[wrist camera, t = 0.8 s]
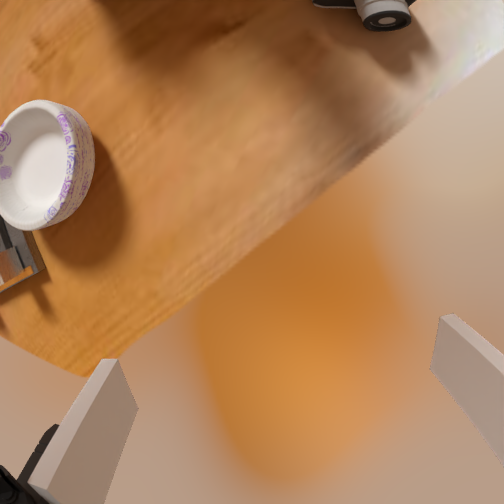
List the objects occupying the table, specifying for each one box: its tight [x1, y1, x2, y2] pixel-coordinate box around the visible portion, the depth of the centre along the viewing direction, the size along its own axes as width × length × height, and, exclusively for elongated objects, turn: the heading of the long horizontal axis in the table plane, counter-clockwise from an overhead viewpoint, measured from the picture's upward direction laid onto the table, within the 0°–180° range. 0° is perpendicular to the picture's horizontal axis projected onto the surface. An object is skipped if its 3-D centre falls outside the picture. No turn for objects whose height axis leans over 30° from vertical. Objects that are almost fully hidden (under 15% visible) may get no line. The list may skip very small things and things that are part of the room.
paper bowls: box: [0, 100, 95, 231], centre depth 29 cm, size 15×15×8 cm
